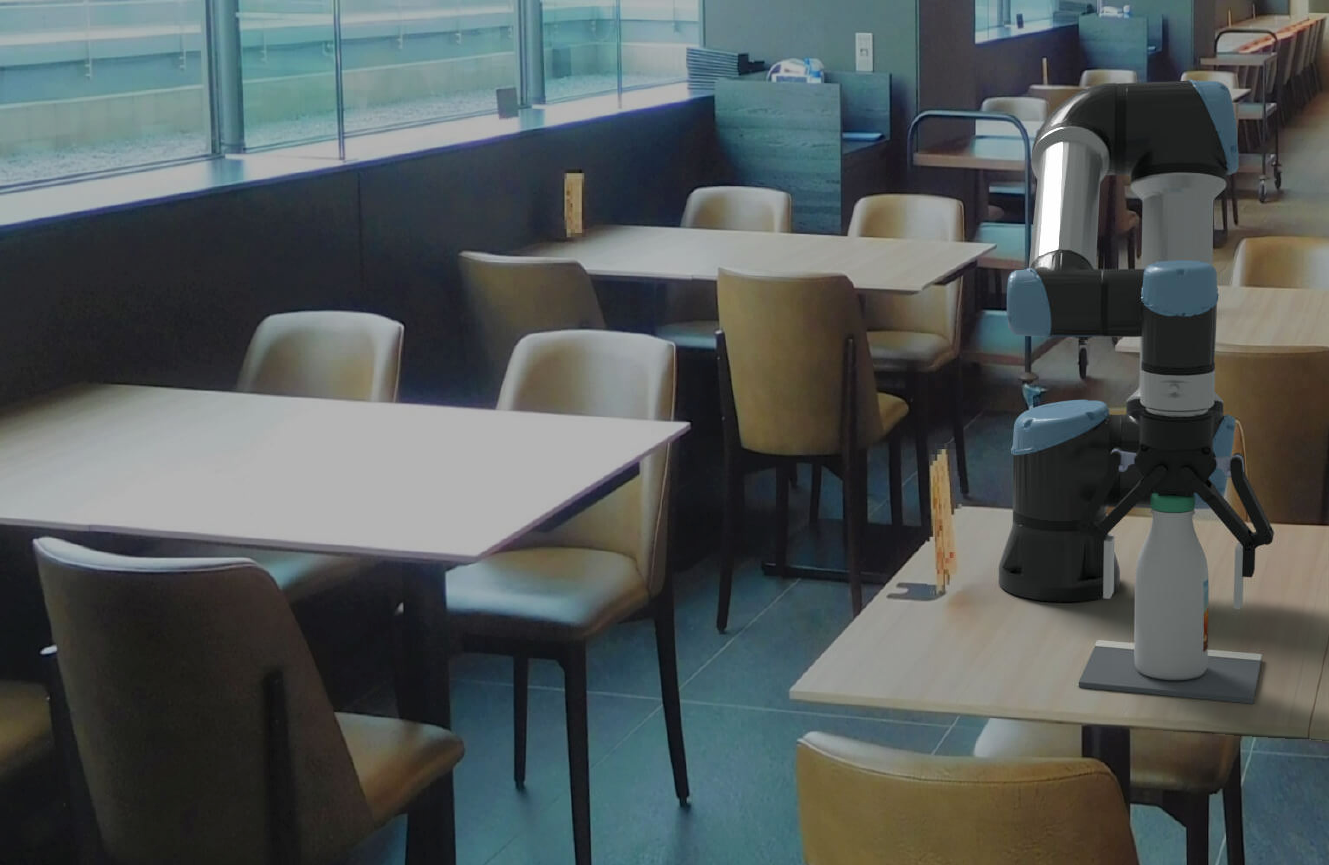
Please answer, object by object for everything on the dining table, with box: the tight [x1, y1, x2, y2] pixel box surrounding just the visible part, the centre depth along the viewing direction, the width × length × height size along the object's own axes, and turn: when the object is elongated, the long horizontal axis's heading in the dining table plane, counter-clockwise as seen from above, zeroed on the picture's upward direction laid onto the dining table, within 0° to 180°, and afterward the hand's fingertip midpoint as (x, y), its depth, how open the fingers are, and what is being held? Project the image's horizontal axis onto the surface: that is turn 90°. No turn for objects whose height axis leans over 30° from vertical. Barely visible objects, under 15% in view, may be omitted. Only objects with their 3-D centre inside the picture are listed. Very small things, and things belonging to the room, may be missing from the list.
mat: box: [1078, 639, 1263, 705], centre depth 196 cm, size 18×14×1 cm
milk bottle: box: [1133, 492, 1210, 680], centre depth 193 cm, size 8×8×20 cm
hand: (1172, 600), depth 193 cm, fingers open, 13 cm apart
